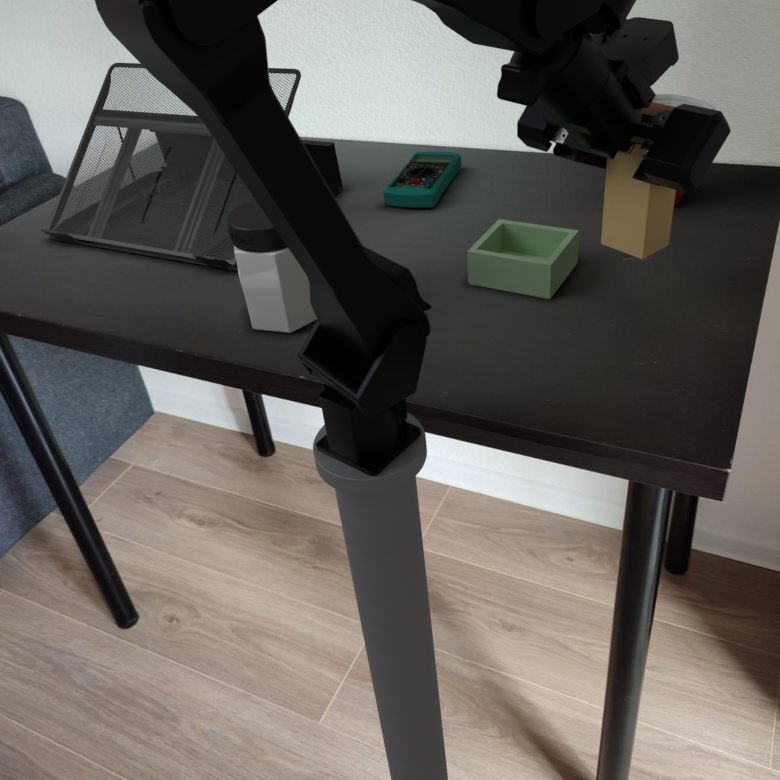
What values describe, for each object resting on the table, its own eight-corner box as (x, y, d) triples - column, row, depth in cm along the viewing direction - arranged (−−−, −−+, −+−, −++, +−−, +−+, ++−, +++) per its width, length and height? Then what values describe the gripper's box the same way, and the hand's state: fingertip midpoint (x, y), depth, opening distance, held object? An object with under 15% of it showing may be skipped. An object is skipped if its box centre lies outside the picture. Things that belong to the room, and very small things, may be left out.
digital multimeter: (382, 209, 106) (380, 188, 104) (415, 168, 117) (414, 148, 115) (433, 212, 103) (432, 191, 102) (463, 169, 114) (462, 150, 112)
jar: (247, 300, 89) (224, 202, 82) (318, 287, 90) (300, 189, 82) (252, 341, 82) (226, 237, 74) (328, 326, 82) (310, 222, 75)
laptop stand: (42, 243, 107) (-12, 110, 97) (172, 169, 127) (139, 51, 116) (232, 277, 94) (195, 126, 83) (346, 188, 113) (328, 56, 102)
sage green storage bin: (550, 299, 82) (551, 265, 80) (468, 284, 87) (466, 251, 84) (577, 263, 88) (579, 230, 86) (499, 250, 92) (498, 218, 90)
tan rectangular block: (642, 260, 73) (657, 122, 66) (599, 244, 77) (608, 110, 69) (670, 245, 75) (688, 109, 67) (627, 229, 79) (638, 98, 71)
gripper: (737, -1, 54) (792, 116, 65) (540, -20, 67) (615, 82, 78) (653, 142, 55) (721, 233, 67) (475, 97, 68) (558, 180, 79)
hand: (650, 175), depth 73 cm, fingers closed on tan rectangular block, 5 cm apart
